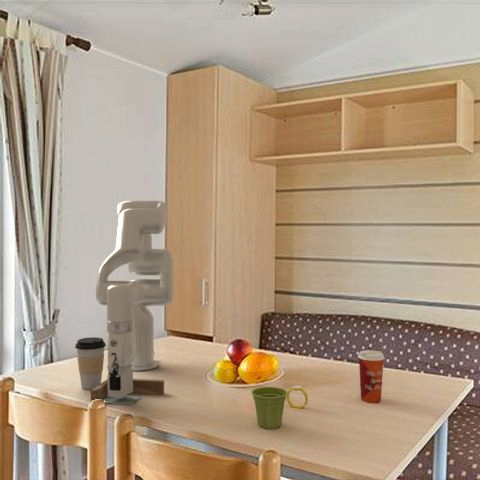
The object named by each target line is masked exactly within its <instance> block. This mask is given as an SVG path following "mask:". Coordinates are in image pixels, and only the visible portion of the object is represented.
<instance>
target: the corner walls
mask: <svg viewBox="0 0 480 480" xmlns="http://www.w3.org/2000/svg"><path fill="white" fill-rule="evenodd" d="M138 393H143V394H144V395H156V394H159V396H163V395H164V394H165V380H164V379H163V380H162V379H147V378H145V379H143V378H133V392H132V393H131V394H138ZM143 394H142V395H143ZM107 395H108V378H107V379H106V380H104V381H103V382H101V384H100V385H98V386H97V387H95V388H94V389H91V390H90V402H91V401H92V400H95V399H103V400H105V401H106V403H107V404H108V403H115V404H114V405H123V404H130V405H129V406H134V403H135V402H136V401H137V402H138V401H139V400H140V399H142V396H141V395H139V396H137V395H124V396H121V397H119V398H114V397H110V396H107ZM106 396H107V397H106ZM105 397H106V398H105ZM137 402H136V403H137ZM106 403H105V404H106ZM136 403H135V404H136ZM108 405H109V404H108Z"/></svg>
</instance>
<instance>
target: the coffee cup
mask: <svg viewBox="0 0 480 480" xmlns="http://www.w3.org/2000/svg"><path fill="white" fill-rule="evenodd" d="M105 347H106V342H105V341H104V339H103V338H102V337H94V336H93V337H91V336H90V337H84V338H80V339H77V342H76V343H75V346H74V348H75V349H76V350H77V351H76V352H77V356H76V357H77V358H76V359H77V365H78V372H79V378H80V385H81V389H83V390H90V389H91V390H92V389H94V388H95V387H97V386H98V385H100V384H101V383H102V378H103V372H104V371H103V370H104V360H105V359H104V358H105ZM91 390H90V391H91Z"/></svg>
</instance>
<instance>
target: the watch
mask: <svg viewBox="0 0 480 480" xmlns="http://www.w3.org/2000/svg"><path fill="white" fill-rule="evenodd" d="M292 391H298V392H301V393H302V394H303V396H304V399H305V400H304V403H303V405H296V404H294V403H293V402H291V398H290V393H291V392H292ZM287 392H288V394H287V396H286V399H285V400H286V402H287V404H288V406H290V407H291V408H295V409H299V410H300V409H303V408H304V407H305V406H306V405H307V404H308V401H309V398H308V397H309V396H308V393H307V392H306V390H305V389H304V388H303V386H301V385H298V384H297V385H292V387H291V388H290V389H288V390H287Z"/></svg>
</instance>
